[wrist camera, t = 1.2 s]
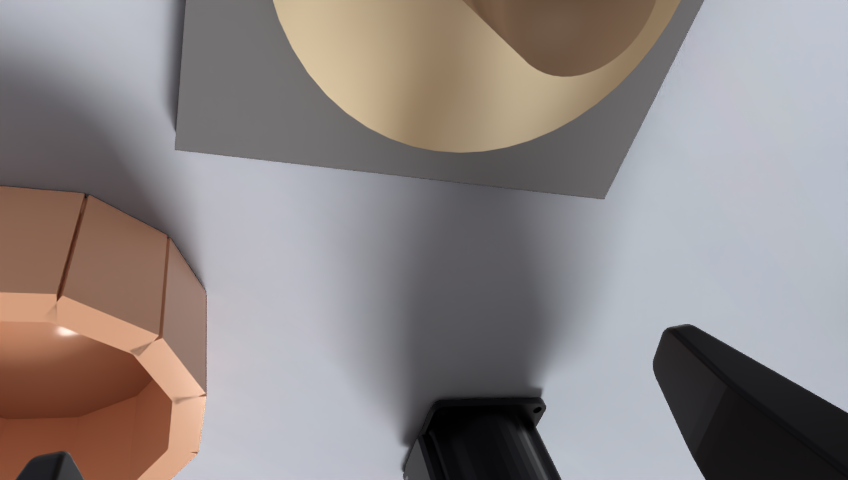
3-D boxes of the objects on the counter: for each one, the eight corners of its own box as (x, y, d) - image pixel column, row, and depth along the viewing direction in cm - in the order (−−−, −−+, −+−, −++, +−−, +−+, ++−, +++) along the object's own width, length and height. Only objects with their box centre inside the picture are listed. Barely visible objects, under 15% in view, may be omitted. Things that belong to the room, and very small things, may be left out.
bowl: (217, 204, 22) (219, 299, 18) (192, 414, 28) (189, 519, 24) (-191, 169, 18) (-299, 281, 14) (-121, 423, 24) (-184, 552, 20)
